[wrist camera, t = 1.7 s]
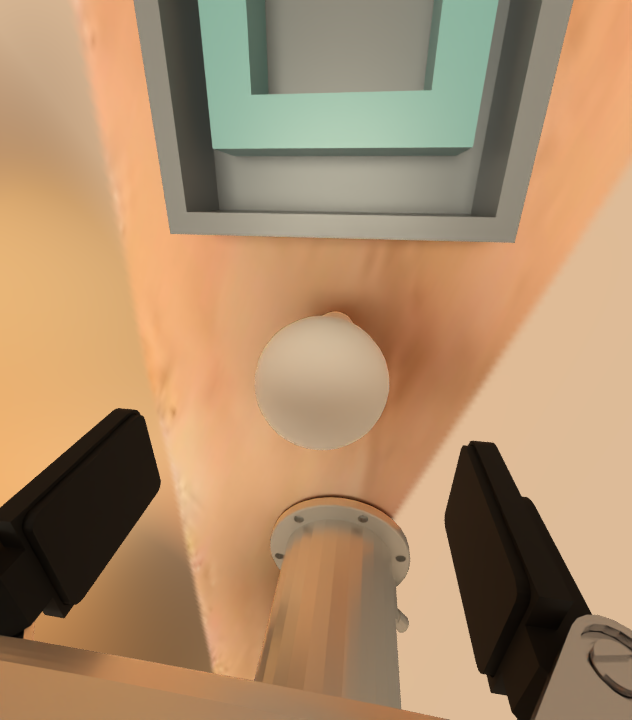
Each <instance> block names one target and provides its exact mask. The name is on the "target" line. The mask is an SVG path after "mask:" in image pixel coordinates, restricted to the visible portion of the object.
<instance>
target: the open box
mask: <svg viewBox="0 0 632 720" xmlns="http://www.w3.org/2000/svg"><path fill="white" fill-rule="evenodd" d="M572 4H573V0H134V6H135V13H136V19H137V25H138V32H139V38H140V44H141V51H142V57H143V63H144V70H145V76H146V82H147V89H148V95H149V101H150V108H151V114H152V120H153V126H154V133H155V139H156V145H157V152H158V158H159V164H160V171H161V177H162V183H163V190H164V196H165V202H166V209H167V215H168V221H169V228H170V234H197V235H236V236H275V237H314V238H353V239H392V240H431V241H470V242H509V243H515V239H516V234H517V230H518V226H519V222H520V218H521V214H522V210H523V206H524V202H525V197H526V193H527V189H528V185H529V181H530V177H531V173H532V169H533V165H534V160H535V156H536V152H537V148H538V144H539V140H540V136H541V132H542V127H543V123H544V119H545V115H546V111H547V107H548V103H549V99H550V95H551V90H552V86H553V82H554V78H555V74H556V70H557V66H558V62H559V58H560V53H561V49H562V45H563V41H564V37H565V33H566V29H567V25H568V21H569V16H570V12H571V8H572Z"/></svg>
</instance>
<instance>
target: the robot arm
mask: <svg viewBox="0 0 632 720" xmlns="http://www.w3.org/2000/svg"><path fill="white" fill-rule="evenodd" d="M160 483H161V480H160V476H159V472H158V468H157V464H156V460H155V457H154V453H153V449H152V445H151V441H150V438H149V434H148V430H147V426H146V422H145V419H144V417H143V416H141V415H140V413H139V412H138V411H137V410H132V409H121V408H118V409H115V410H114V411H112V412H111V413H110V414H109V415H108V416H106V417H105V418H104V419H103V420H102V421H100V422H99V423H98V424H97V425H96V426H95V427H94V428H92V429H91V430H90V431H89V432H88V433H86V434H85V435H84V436H83V437H82V438H81V439H80V440H78V441H77V442H76V443H75V444H74V445H73V446H71V447H70V448H69V449H68V450H67V451H66V452H64V453H63V454H62V455H61V456H60V457H59V458H57V459H56V460H55V461H54V462H53V463H52V464H50V465H49V466H48V467H47V468H46V469H45V470H43V471H42V472H41V473H40V474H39V475H38V476H36V477H35V478H34V479H33V480H32V481H31V482H30V483H28V484H27V485H26V486H25V487H24V488H23V489H22V490H20V491H19V492H18V493H17V494H15V495H14V496H13V497H12V498H11V499H10V500H8V501H7V502H6V503H5V504H4V505H3V506H2V507H1V508H0V720H448V719H443V718H438V717H434V716H429V715H424V714H420V713H415V712H410V711H406V710H401V698H400V683H399V667H398V651H397V636H396V629H397V630H398V631H399V632H404V631H406V630H407V628H408V625H409V621H408V618H407V617H406V616H405V615H404V614H403V613H402V612H401V611H400V610H399V609H398V608H397V597H396V586H398V585H399V584H400V583H401V582H402V580H403V579H404V578H405V576H406V574H407V572H408V570H409V564H410V554H409V546H408V543H407V539H406V537H405V535H404V533H403V532H402V530H401V528H400V527H399V526H398V525H397V524H396V523H395V522H394V521H393V520H392V519H391V518H390V517H388V516H387V515H386V514H385V513H383V512H382V511H380V510H378V509H376V508H374V507H372V506H370V505H367V504H364V503H362V502H359V501H355V500H350V499H345V498H334V497H326V498H315V499H311V500H307V501H303V502H301V503H298V504H296V505H294V506H292V507H291V508H289V509H288V510H286V511H285V512H284V513H283V514H282V515H281V516H280V517H279V519H278V520H277V522H276V524H275V526H274V528H273V532H272V536H271V539H270V550H271V555H272V558H273V560H274V561H275V563H276V565H277V567H278V568H279V569H280V575H279V579H278V583H277V587H276V591H275V596H274V600H273V604H272V608H271V612H270V616H269V621H268V625H267V629H266V633H265V637H264V642H263V646H262V650H261V654H260V658H259V663H258V667H257V671H256V675H255V679H254V681H251V680H246V679H240V678H235V677H230V676H224V675H219V674H214V673H208V672H203V671H197V670H192V669H186V668H181V667H176V666H170V665H165V664H160V663H154V662H149V661H143V660H138V659H132V658H126V657H121V656H116V655H110V654H105V653H99V652H94V651H88V650H82V649H77V648H71V647H66V646H60V645H54V644H48V643H43V642H38V641H33V639H34V627H35V620H36V618H37V617H38V616H39V615H40V613H41V612H42V611H43V613H44V614H45V615H49V616H55V617H60V618H65V617H66V615H67V614H68V612H69V611H70V610H71V608H72V607H73V605H76V604H78V603H79V602H80V601H81V600H82V599H83V598H84V597H85V595H86V594H87V592H88V591H89V589H90V588H91V587H92V585H93V584H94V582H95V581H96V580H97V578H98V577H99V575H100V574H101V572H102V571H103V570H104V568H105V566H106V565H107V564H108V562H109V561H110V559H111V558H112V557H113V555H114V553H115V552H116V551H117V549H118V548H119V547H120V545H121V544H122V542H123V541H124V539H125V538H126V537H127V535H128V534H129V532H130V531H131V530H132V528H133V527H134V525H135V524H136V522H137V521H138V520H139V518H140V517H141V515H142V514H143V512H144V511H145V510H146V508H147V507H148V505H149V504H150V502H151V501H152V499H153V498H154V497H155V495H156V494H157V492H158V491H159V488H160ZM445 528H446V533H447V537H448V541H449V546H450V550H451V555H452V559H453V563H454V568H455V572H456V576H457V581H458V585H459V589H460V594H461V599H462V603H463V607H464V611H465V616H466V621H467V625H468V629H469V634H470V638H471V643H472V647H473V652H474V655H475V660H476V664H477V668H478V670H479V672H480V673H481V674H486V675H487V678H488V682H489V687H490V691H491V693H495V694H501V695H507V696H508V700H509V704H510V707H511V711H512V713H513V714H514V715H515V716H516V717H517V720H632V631H631V630H630V629H629V628H626V627H625V626H623V625H621V624H619V623H618V622H616V621H614V620H611V619H609V618H606V617H602V616H599V615H592V614H591V612H590V610H589V608H588V606H587V604H586V602H585V600H584V598H583V597H582V595H581V593H580V591H579V589H578V587H577V585H576V583H575V581H574V579H573V577H572V576H571V574H570V572H569V570H568V568H567V566H566V564H565V562H564V560H563V559H562V557H561V555H560V553H559V551H558V549H557V547H556V545H555V543H554V542H553V539H552V538H551V536H550V534H549V532H548V530H547V528H546V526H545V524H544V522H543V521H542V519H541V517H540V515H539V513H538V511H537V509H536V507H535V505H534V504H533V502H532V501H531V500H530V499H529V498H527V497H522V496H521V495H520V493H519V490H518V488H517V486H516V485H515V482H514V480H513V479H512V476H511V475H510V472H509V470H508V469H507V466H506V465H505V462H504V460H503V458H502V456H501V454H500V452H499V450H498V448H497V447H496V445H495V444H494V443H491V442H480V441H470V443H469V445H468V446H463V447H462V448H461V452H460V456H459V460H458V464H457V468H456V472H455V476H454V480H453V484H452V488H451V492H450V496H449V500H448V504H447V508H446V512H445Z"/></svg>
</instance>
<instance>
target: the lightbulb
mask: <svg viewBox="0 0 632 720" xmlns="http://www.w3.org/2000/svg"><path fill="white" fill-rule="evenodd" d="M255 393H256V398H257V402H258V405H259V408H260V410H261V412H262V414H263V416H264V417H265V419H266V420H267V422H268V423H269V425H270V426H271V427H272V428H273V429H274V430H275V431H276V432H277V433H278V434H279V435H280V436H282V437H283V438H284V439H286V440H287V441H289V442H291V443H293V444H295V445H298V446H301V447H304V448H307V449H314V450H331V449H338V448H341V447H344V446H347V445H349V444H351V443H353V442H355V441H357V440H358V439H360V438H362V437H363V436H364V435H365V434H367V433H368V432H369V431H370V430H371V429H372V427H373V426H374V425H375V423H376V422H377V421H378V419H379V418H380V416H381V414H382V412H383V410H384V408H385V405H386V402H387V398H388V393H389V372H388V368H387V364H386V360H385V358H384V356H383V354H382V352H381V350H380V348H379V347H378V346H377V344H376V343H375V342H374V340H373V339H372V338H371V337H370V335H369V334H367V333H366V332H365V331H364V330H363V329H361V328H360V327H359V326H357V325H355V324H353V322H352V320H351V319H350V318H349V317H348V316H347V315H346V314H344V313H341V312H336V311H334V312H329V313H326V314H324V315H323V316H311V317H307V318H303V319H300V320H297V321H295V322H293V323H291V324H289V325H287V326H285V327H284V328H282V329H281V330H280V331H279V332H277V333H276V334H275V335H274V336H273V337H272V339H271V340H270V341H269V342H268V343H267V345H266V346H265V348H264V349H263V351H262V354H261V356H260V358H259V361H258V365H257V369H256V374H255Z"/></svg>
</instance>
